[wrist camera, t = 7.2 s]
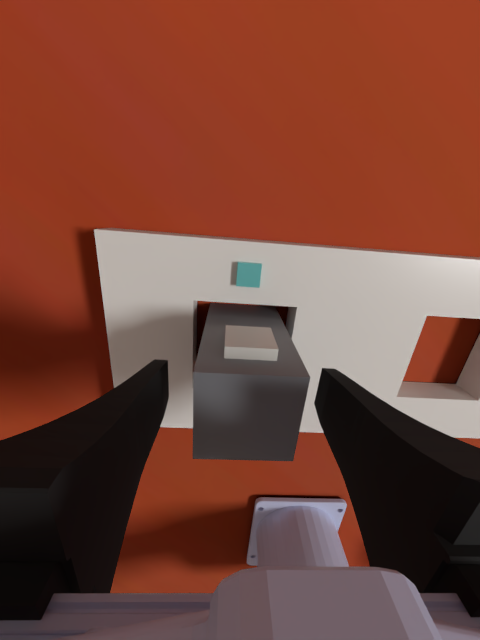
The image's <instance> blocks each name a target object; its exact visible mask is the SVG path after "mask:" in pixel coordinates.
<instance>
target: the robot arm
mask: <svg viewBox="0 0 480 640" xmlns="http://www.w3.org/2000/svg"><path fill="white" fill-rule="evenodd" d="M168 399H169V381H168V360H157V359H154V360H153V361H151V362H150V363H149V364H147V365H146V366H145V367H143V368H142V369H141V370H139V371H138V372H137V373H135V374H134V375H133V376H131V377H130V378H129V379H127V380H126V381H124V382H123V383H121V384H120V385H118V386H117V387H115V388H114V389H112V390H111V391H109V392H108V393H106V394H105V395H103V396H101V397H100V398H98V399H96V400H94V401H93V402H91V403H89V404H87V405H85V406H83V407H81V408H79V409H77V410H75V411H73V412H71V413H69V414H67V415H65V416H62V417H60V418H58V419H56V420H54V421H51V422H49V423H47V424H44V425H42V426H39V427H37V428H34V429H32V430H29V431H26V432H24V433H21V434H18V435H15V436H13V437H10V438H7V439H4V440H1V441H0V640H480V448H478V447H475V446H472V445H470V444H467V443H465V442H463V441H460V440H458V439H455V438H453V437H451V436H449V435H446V434H444V433H442V432H440V431H438V430H436V429H433V428H431V427H429V426H427V425H425V424H423V423H421V422H419V421H417V420H416V419H414V418H412V417H410V416H408V415H406V414H404V413H403V412H401V411H399V410H397V409H396V408H394V407H392V406H391V405H389V404H388V403H386V402H384V401H383V400H381V399H380V398H378V397H377V396H375V395H374V394H372V393H371V392H369V391H368V390H366V389H365V388H363V387H362V386H360V385H359V384H357V383H356V382H355V381H353V380H352V379H350V378H349V377H347V376H346V375H344V374H343V373H341V372H340V371H338V370H336V369H332V368H322V371H321V375H320V380H319V384H318V388H317V393H316V397H315V401H314V405H315V408H316V412H317V416H318V419H319V422H320V425H321V427H322V430H323V432H324V434H325V436H326V439H327V441H328V443H329V445H330V448H331V450H332V452H333V454H334V457H335V459H336V461H337V463H338V466H339V468H340V470H341V473H342V475H343V478H344V481H345V484H346V487H347V490H348V493H349V496H350V499H351V502H352V505H353V508H354V511H355V515H356V518H357V521H358V525H359V528H360V531H361V535H362V538H363V542H364V546H365V549H366V553H367V556H368V560H369V564H370V567H349V565H348V562H347V559H346V556H345V553H344V550H343V547H342V544H341V541H340V538H339V535H338V529H339V526H340V524H341V521H342V518H343V515H344V512H345V510H346V507H347V504H346V502H345V500H343V499H327V498H276V497H259V498H257V499H256V501H255V506H254V513H253V519H252V526H251V533H250V539H249V546H248V552H247V564H248V565H257V567H256V568H249V569H243V570H240V571H238V572H236V573H234V574H232V575H230V576H228V577H226V578H224V579H223V580H222V581H221V582H220V583H219V585H218V586H217V588H216V590H215V592H214V593H110V590H111V586H112V582H113V578H114V574H115V570H116V566H117V562H118V558H119V554H120V550H121V546H122V542H123V539H124V535H125V531H126V527H127V524H128V520H129V516H130V513H131V509H132V505H133V502H134V498H135V495H136V491H137V488H138V485H139V481H140V478H141V474H142V471H143V469H144V466H145V463H146V461H147V458H148V456H149V453H150V451H151V448H152V446H153V443H154V441H155V438H156V436H157V433H158V431H159V428H160V425H161V423H162V420H163V418H164V414H165V411H166V407H167V403H168Z"/></svg>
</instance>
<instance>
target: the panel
mask: <svg viewBox="0 0 480 640" xmlns="http://www.w3.org/2000/svg"><path fill="white" fill-rule="evenodd" d="M94 234H95V242H96V250H97V258H98V266H99V274H100V282H101V290H102V298H103V305H104V313H105V321H106V329H107V337H108V345H109V353H110V361H111V369H112V377H113V385H114V388H115V387H117V386H118V385H120V384H121V383H123V382H124V381H126V380H127V379H129V378H130V377H131V376H133V375H134V374H135V373H137V372H138V371H139V370H141V369H142V368H143V367H145V366H146V365H147V364H149V363H150V362H151V361H153V360H154V359H157V360H168V381H169V399H168V403H167V407H166V411H165V414H164V418H163V420H162V423H161V425H160V427H174V428H193V372H194V368H195V364H196V347H197V301H211V302H226V303H242V304H257V305H273V306H288V313H287V320H286V326H285V327H286V329H287V331H288V333H289V335H290V337H291V339H292V341H293V343H294V345H295V347H296V349H297V351H298V353H299V355H300V357H301V359H302V361H303V363H304V365H305V368H306V370H307V372H308V374H309V376H310V382H309V387H308V391H307V396H306V401H305V406H304V411H303V415H302V420H301V425H300V430H299V432H315V433H324V432H323V430H322V427H321V425H320V422H319V419H318V416H317V412H316V408H315V405H314V401H315V397H316V393H317V388H318V384H319V380H320V375H321V371H322V368H332V369H336V370H338V371H340V372H341V373H343V374H344V375H346V376H347V377H349V378H350V379H352V380H353V381H355V382H356V383H357V384H359V385H360V386H362V387H363V388H365V389H366V390H368V391H369V392H371V393H372V394H374V395H375V396H377V397H378V398H380V399H381V400H383V401H384V402H386V403H388V404H389V405H391V406H392V407H394V408H396V409H397V410H399V411H401V412H403V413H404V414H406V415H408V416H410V417H412V418H414V419H416V420H417V421H419V422H421V423H423V424H425V425H427V426H429V427H431V428H433V429H436V430H438V431H440V432H442V433H444V434H446V435H449V436H451V437H457V438H480V334H479V336H478V338H477V340H476V342H475V344H474V346H473V349H472V351H471V353H470V355H469V357H468V359H467V361H466V364H465V366H464V368H463V370H462V372H461V374H460V376H459V378H458V381H457V383H456V384H446V383H425V382H404V381H403V378H404V375H405V373H406V370H407V367H408V365H409V362H410V359H411V357H412V354H413V351H414V349H415V346H416V343H417V341H418V338H419V335H420V333H421V330H422V327H423V325H424V322H425V319H426V317H427V316H442V317H457V318H473V319H480V257H467V256H455V255H442V254H430V253H417V252H405V251H392V250H380V249H367V248H355V247H342V246H330V245H317V244H305V243H293V242H280V241H268V240H255V239H243V238H230V237H218V236H205V235H193V234H180V233H168V232H155V231H143V230H130V229H118V228H103V229H94Z"/></svg>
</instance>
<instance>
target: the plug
mask: <svg viewBox="0 0 480 640" xmlns="http://www.w3.org/2000/svg"><path fill="white" fill-rule="evenodd" d="M309 382H310V376H309V374H308V372H307V370H306V368H305V365H304V363H303V361H302V359H301V357H300V355H299V353H298V351H297V349H296V347H295V345H294V343H293V341H292V339H291V337H290V335H289V333H288V331H287V329H286V327H285V325H284V323H283V321H282V319H281V317H280V315H279V313H278V311H277V309H276V307H271V306H254V305H238V304H221V303H210V307H209V311H208V315H207V319H206V323H205V327H204V331H203V335H202V339H201V343H200V347H199V351H198V355H197V359H196V364H195V368H194V372H193V459H227V460H267V461H293V459H294V454H295V449H296V444H297V439H298V435H299V430H300V425H301V420H302V415H303V411H304V406H305V401H306V396H307V391H308V387H309Z"/></svg>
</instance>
